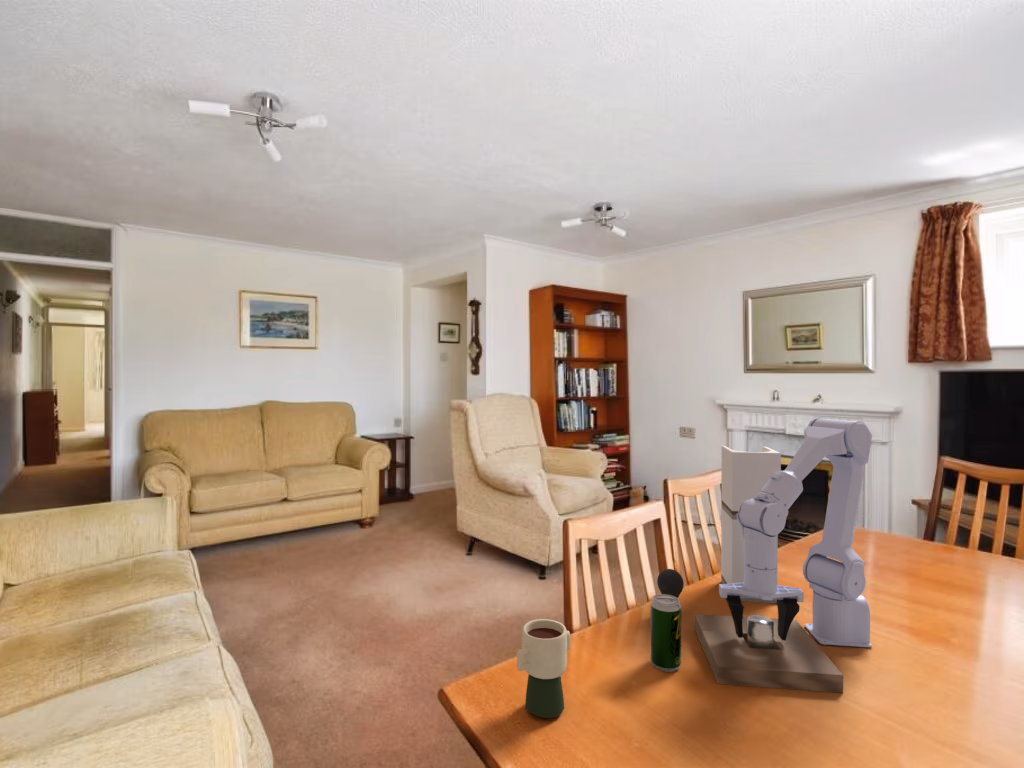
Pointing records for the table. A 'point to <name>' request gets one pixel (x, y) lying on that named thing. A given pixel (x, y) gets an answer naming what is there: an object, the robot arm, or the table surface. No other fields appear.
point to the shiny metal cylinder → (760, 632)
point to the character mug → (544, 665)
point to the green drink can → (666, 632)
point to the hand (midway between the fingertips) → (760, 636)
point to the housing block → (766, 657)
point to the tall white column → (739, 484)
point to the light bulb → (670, 582)
